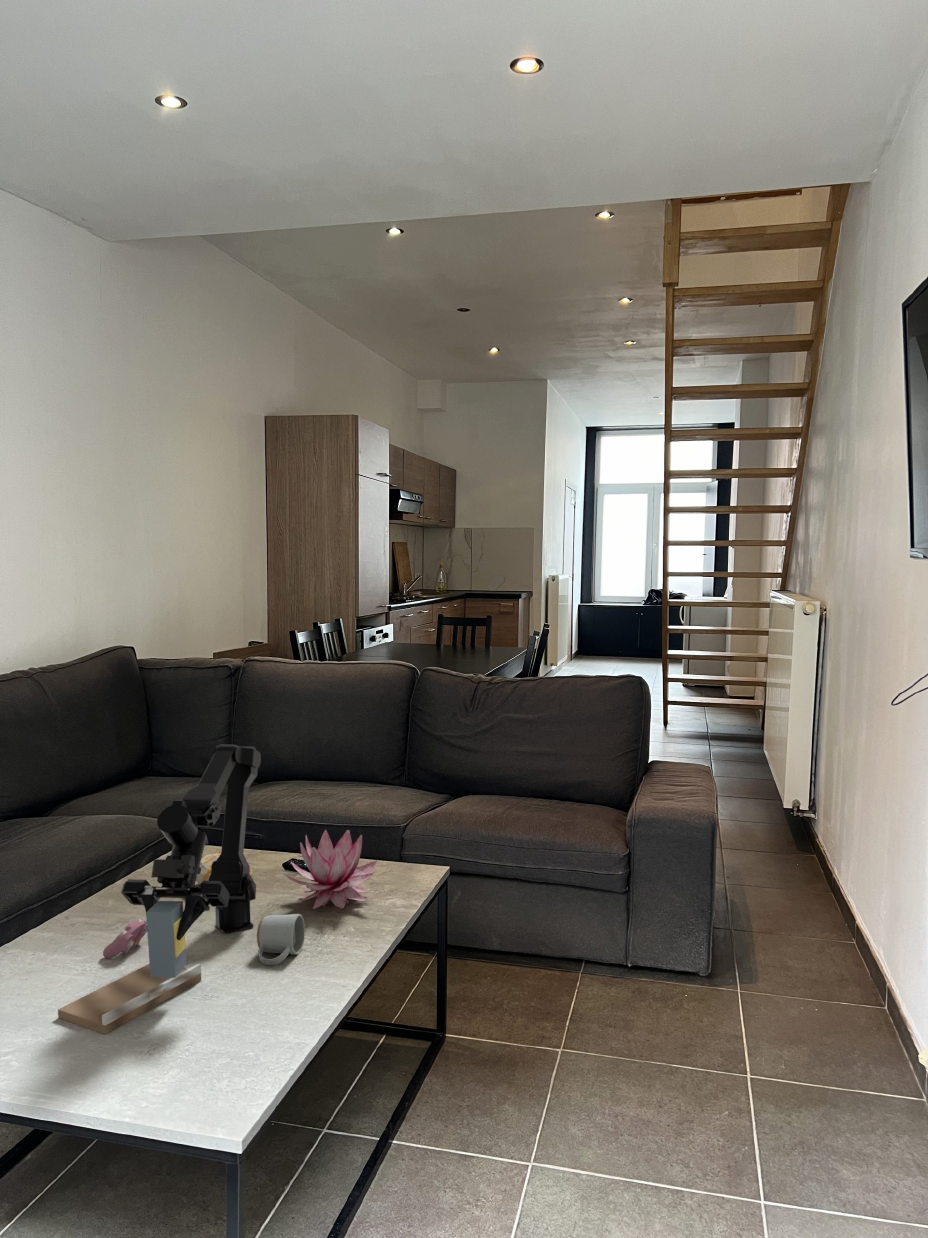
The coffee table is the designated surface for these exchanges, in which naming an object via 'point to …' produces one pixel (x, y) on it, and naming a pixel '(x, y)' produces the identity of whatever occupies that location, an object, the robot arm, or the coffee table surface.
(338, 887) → the decorative flower
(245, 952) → the coffee table surface
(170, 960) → the tea tin
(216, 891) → the robot arm
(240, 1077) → the coffee table surface
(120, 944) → the pink elongated piece
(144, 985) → the board
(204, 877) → the nautilus
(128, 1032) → the coffee table surface
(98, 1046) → the coffee table surface
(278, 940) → the ceramic mug
